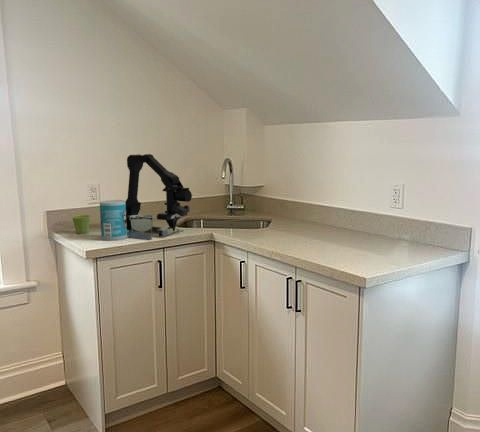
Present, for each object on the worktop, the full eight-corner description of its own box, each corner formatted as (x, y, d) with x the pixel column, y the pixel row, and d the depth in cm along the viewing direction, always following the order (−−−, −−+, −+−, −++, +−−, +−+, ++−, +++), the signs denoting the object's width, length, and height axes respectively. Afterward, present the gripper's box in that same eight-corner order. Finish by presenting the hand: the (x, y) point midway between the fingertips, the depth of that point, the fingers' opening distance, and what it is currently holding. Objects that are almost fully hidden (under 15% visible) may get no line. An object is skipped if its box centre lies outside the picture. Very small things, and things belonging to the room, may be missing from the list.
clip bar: (163, 236, 239) (163, 228, 239) (170, 234, 244) (170, 226, 244) (165, 236, 239) (165, 228, 238) (173, 234, 244) (172, 226, 243)
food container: (157, 233, 245) (156, 214, 244) (154, 236, 239) (153, 216, 238) (133, 233, 246) (133, 214, 245) (129, 236, 240) (129, 216, 239)
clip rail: (157, 237, 236) (157, 229, 236) (178, 231, 252) (178, 223, 251) (162, 238, 235) (162, 229, 234) (183, 231, 250) (182, 224, 250)
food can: (132, 237, 236) (130, 201, 233) (111, 242, 227) (109, 203, 224) (117, 234, 244) (115, 199, 241) (96, 238, 234) (94, 201, 232)
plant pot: (77, 235, 243) (76, 218, 241) (69, 233, 250) (68, 216, 248) (94, 233, 249) (93, 216, 247) (87, 230, 256) (86, 214, 254)
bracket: (125, 237, 238) (125, 231, 238) (146, 231, 252) (146, 225, 252) (150, 239, 231) (149, 233, 230) (170, 233, 245) (170, 227, 245)
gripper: (174, 203, 231) (175, 236, 233) (195, 199, 247) (196, 229, 249) (155, 202, 236) (156, 234, 238) (177, 198, 252) (178, 227, 255)
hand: (173, 231), depth 245 cm, fingers closed
